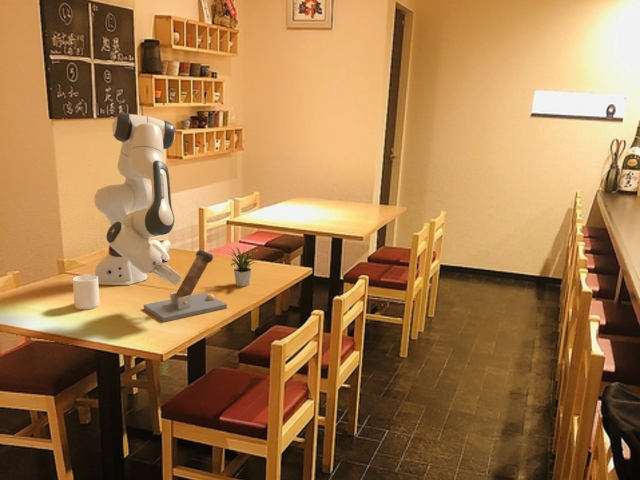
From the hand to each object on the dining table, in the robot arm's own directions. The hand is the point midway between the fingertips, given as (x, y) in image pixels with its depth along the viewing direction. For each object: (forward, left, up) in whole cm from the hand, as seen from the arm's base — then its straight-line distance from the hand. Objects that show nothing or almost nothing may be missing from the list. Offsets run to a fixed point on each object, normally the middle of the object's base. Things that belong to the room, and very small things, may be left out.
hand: (175, 283), depth 207 cm
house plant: (+23, +29, -10) cm, 38 cm away
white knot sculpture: (-11, +71, -10) cm, 72 cm away
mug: (-31, +10, -10) cm, 34 cm away
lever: (+1, +1, -7) cm, 7 cm away
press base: (+3, +2, -10) cm, 11 cm away
